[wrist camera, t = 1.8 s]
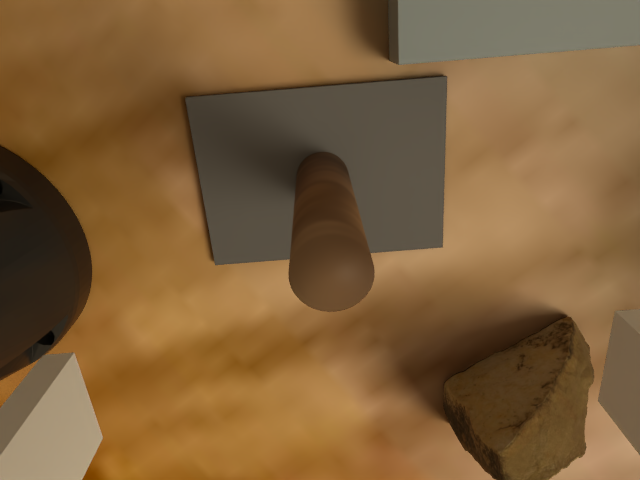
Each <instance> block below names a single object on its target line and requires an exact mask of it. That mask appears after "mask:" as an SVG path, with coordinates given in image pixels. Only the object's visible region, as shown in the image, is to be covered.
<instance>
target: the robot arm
mask: <svg viewBox="0 0 640 480" xmlns="http://www.w3.org/2000/svg"><path fill="white" fill-rule="evenodd" d="M91 280H92V264H91V256H90V251H89V247H88V243H87V240H86V237H85V234H84V232H83V229H82V227H81V225H80V223H79V221H78V219H77V217H76V215H75V214H74V212H73V210H72V209H71V207H70V206H69V204H68V203H67V201H66V200H65V199H64V198H63V196H62V195H61V194H60V193H59V191H58V190H57V189H56V188H55V187H54V186H53V185H52V184H51V183H50V182H49V181H48V180H47V179H46V178H45V177H44V176H43V175H42V174H41V173H40V172H38V171H37V170H36V169H35V168H33V167H32V166H31V165H30V164H28V163H27V162H25V161H24V160H23V159H21V158H20V157H18V156H16V155H15V154H13V153H11V152H10V151H8V150H6V149H4V148H2V147H0V380H2V379H4V378H6V377H8V376H10V375H11V374H13V373H15V372H17V371H19V370H20V369H22V368H24V367H26V366H28V365H30V364H31V363H33V362H35V361H36V360H38V359H40V360H39V361H38V362H37V363H36V365H35V366H34V367H33V368H32V369H31V371H30V372H29V373H28V374H27V376H26V377H25V378H24V379H23V381H22V382H21V383H20V384H19V386H18V387H17V388H16V389H15V390H14V392H13V393H12V394H11V395H10V397H9V398H8V399H7V400H6V402H5V403H4V404H3V405H2V407H1V408H0V480H82V479H83V477H84V475H85V473H86V471H87V469H88V467H89V465H90V463H91V461H92V459H93V457H94V455H95V453H96V451H97V449H98V447H99V445H100V443H101V441H102V439H103V437H102V434H101V431H100V428H99V425H98V422H97V419H96V416H95V413H94V410H93V407H92V404H91V401H90V398H89V395H88V392H87V389H86V386H85V383H84V380H83V377H82V374H81V371H80V368H79V365H78V362H77V359H76V356H75V353H63V354H50V355H45V354H46V353H48V352H49V351H50V350H51V349H52V348H53V347H54V346H56V345H57V343H58V342H59V341H60V340H61V339H62V338H63V337H64V335H65V334H66V333H67V332H68V330H69V329H70V328H71V326H72V325H73V324H74V323H75V321H76V320H77V319H78V317H79V316H80V314H81V313H82V311H83V309H84V307H85V304H86V302H87V299H88V296H89V293H90V288H91ZM598 401H599V403H600V404H601V405H602V407H603V408H604V409H605V411H606V412H607V413H608V414H609V416H610V417H611V418H612V420H613V421H614V422H615V424H616V425H617V426H618V427H619V429H620V430H621V431H622V433H623V434H624V435H625V437H626V438H627V439H628V440H629V442H630V443H631V444H632V446H633V447H634V448H635V450H636V451H637V452H638V453H639V455H640V309H634V310H621V311H615V313H614V318H613V324H612V329H611V334H610V340H609V345H608V350H607V355H606V361H605V366H604V371H603V377H602V382H601V387H600V393H599V398H598Z"/></svg>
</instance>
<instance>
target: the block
mask: <svg viewBox="0 0 640 480" xmlns="http://www.w3.org/2000/svg"><path fill="white" fill-rule="evenodd" d="M388 19H389V61H391V62H394V63H396V64H398V65H402V64H415V63H427V62H439V61H451V60H464V59H476V58H488V57H500V56H513V55H525V54H537V53H549V52H562V51H574V50H586V49H598V48H610V47H623V46H635V45H640V0H388Z"/></svg>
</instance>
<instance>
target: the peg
mask: <svg viewBox="0 0 640 480" xmlns="http://www.w3.org/2000/svg"><path fill="white" fill-rule="evenodd" d="M373 281H374V265H373V261H372V258H371V254H370V250H369V247H368V243H367V239H366V235H365V232H364V228H363V224H362V221H361V217H360V213H359V210H358V206H357V202H356V199H355V195H354V191H353V188H352V184H351V180H350V176H349V173H348V169H347V167H346V165H345V163H344V162H343V161H342V160H341V159H340V158H339V157H338V156H336V155H334V154H332V153H329V152H317V153H314V154H311V155H309V156H308V157H306V158H305V159H304V160H303V161H302V162H301V164H300V166H299V168H298V170H297V176H296V188H295V201H294V213H293V226H292V238H291V250H290V263H289V282H290V285H291V288H292V290H293V292H294V293H295V295H296V296H297V297H298V298H299V299H300V300H301V301H302V302H303V303H304V304H306V305H307V306H309V307H311V308H314V309H317V310H320V311H327V312H335V311H341V310H345V309H348V308H350V307H352V306H354V305H356V304H357V303H359V302H360V301H361V300H362V299H363V298H364V297H365V296H366V295H367V294H368V292H369V291H370V289H371V287H372V284H373Z"/></svg>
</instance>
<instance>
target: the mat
mask: <svg viewBox="0 0 640 480" xmlns="http://www.w3.org/2000/svg"><path fill="white" fill-rule="evenodd" d="M185 100H186V106H187V111H188V117H189V122H190V128H191V134H192V139H193V145H194V150H195V156H196V161H197V167H198V172H199V178H200V184H201V189H202V195H203V200H204V206H205V211H206V217H207V222H208V228H209V234H210V239H211V245H212V250H213V256H214V261H215V265H223V264H235V263H248V262H261V261H274V260H287V259H290V250H291V238H292V226H293V213H294V201H295V188H296V176H297V170H298V168H299V166H300V164H301V162H302V161H303V160H304V159H305V158H306V157H308V156H309V155H311V154H314V153H317V152H329V153H332V154H334V155H336V156H338V157H339V158H340V159H341V160H342V161H343V162H344V163H345V165H346V167H347V169H348V173H349V176H350V180H351V184H352V188H353V191H354V195H355V199H356V202H357V206H358V210H359V213H360V217H361V221H362V224H363V228H364V232H365V235H366V239H367V243H368V247H369V250H370V253H377V252H390V251H402V250H415V249H428V248H441V247H443V214H444V176H445V139H446V101H447V76H436V77H424V78H412V79H400V80H387V81H375V82H363V83H350V84H338V85H326V86H314V87H301V88H289V89H277V90H264V91H252V92H240V93H228V94H215V95H203V96H191V97H186V98H185Z"/></svg>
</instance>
